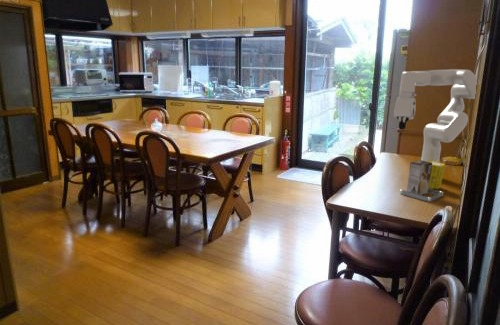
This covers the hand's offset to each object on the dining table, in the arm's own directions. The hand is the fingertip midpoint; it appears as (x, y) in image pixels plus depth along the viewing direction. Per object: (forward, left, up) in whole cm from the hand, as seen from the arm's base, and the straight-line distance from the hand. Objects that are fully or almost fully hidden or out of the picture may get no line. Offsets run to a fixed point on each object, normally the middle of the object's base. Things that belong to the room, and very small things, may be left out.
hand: (401, 129), depth 203 cm
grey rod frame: (+14, +21, -29) cm, 39 cm away
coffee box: (+12, +18, -29) cm, 37 cm away
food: (-3, +19, -29) cm, 35 cm away
